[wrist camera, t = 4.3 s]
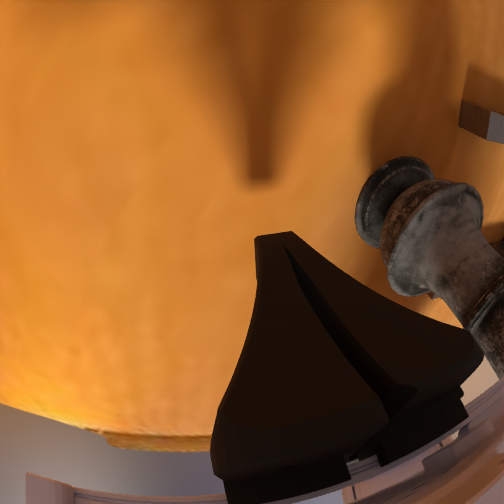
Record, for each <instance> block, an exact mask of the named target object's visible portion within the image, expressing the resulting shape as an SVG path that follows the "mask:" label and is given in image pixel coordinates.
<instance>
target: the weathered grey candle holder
mask: <svg viewBox="0 0 504 504" xmlns="http://www.w3.org/2000/svg"><path fill="white" fill-rule="evenodd" d="M355 222H356V229H357V231H358V233H359V235H360V237H361V238H362V239H363V240H364V241H365V242H366V243H367V244H368V245H370V246H372V247H375V248H381V252H382V256H383V261H384V264H385V266H386V269H387V279H388V281H389V284H390V287H391V288H392V289H393V290H394V291H395V292H396V293H397V294H399V295H403V296H407V297H410V296H419V295H422V294H425V293H427V292H430V291H432V292H434V293H435V294H436V295H438V296H439V297H440V298H441V299H443V300H444V301H445V303H446V304H447V305H448V307H449V308H450V309H451V311H452V312H453V313H454V315H455V316H456V317H457V319H458V320H459V322H460V323H461V324H462V326H463V329H465V330H468V331H470V332H471V334H472V335H473V337H474V338H475V340H476V341H477V343H478V344H479V346H480V347H481V349H482V350H483V352H484V355H485V357H486V358H487V360H488V361H489V363H490V365H491V366H492V368H493V369H494V371H495V373H496V374H497V376H498V378H499V380H500V379H501V378H502V377H504V259H503V258H502V257H501V256H500V255H499V254H498V253H497V252H496V251H495V250H494V249H493V248H492V247H491V246H490V245H489V243H488V242H487V240H486V239H485V237H484V236H483V234H482V232H481V227H482V222H483V203H482V200H481V197H480V194H479V193H478V192H477V190H476V189H475V188H474V187H473V186H471V185H468V184H466V183H454V182H451V181H448V180H441V179H435V177H434V174H433V172H432V171H431V169H430V167H429V166H428V165H427V164H426V163H424V162H423V161H422V160H420V159H417V158H414V157H399V158H396V159H393V160H390V161H389V162H387V163H386V164H384V165H383V166H381V167H380V168H378V170H377V171H376V172H375V173H374V174H373V175H372V176H371V177H370V178H369V179H368V181H367V183H366V184H365V186H364V188H363V189H362V191H361V193H360V196H359V199H358V202H357V204H356V212H355Z"/></svg>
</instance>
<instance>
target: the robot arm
mask: <svg viewBox="0 0 504 504" xmlns="http://www.w3.org/2000/svg"><path fill="white" fill-rule="evenodd" d="M254 243H255V262H256V279H257V290H256V298H255V303H254V309H253V313H252V318H251V322H250V326H249V329H248V333H247V336H246V340H245V343H244V346H243V349H242V352H241V355H240V358H239V360H238V363H237V366H236V368H235V371H234V374H233V376H232V379H231V381H230V383H229V385H228V388H227V390H226V392H225V394H224V396H223V398H222V401H221V403H220V405H219V407H218V410H217V416H216V420H215V424H214V428H213V433H212V438H211V446H210V456H211V462H212V467H213V472H214V475H216V476H217V477H219V478H220V479H222V480H223V483H224V488H225V493H226V494H218V495H206V496H187V497H154V496H134V495H122V494H114V493H106V492H99V491H92V490H86V489H81V488H76V487H72V486H71V485H68V484H65V483H62V482H59V481H55V480H51V479H48V478H44V477H41V476H37V475H34V474H30V473H26V504H291V503H295V502H299V501H303V500H307V499H311V498H314V497H318V496H321V495H324V494H327V493H331V492H334V491H337V490H340V489H342V495H343V502H344V504H504V377H502V378H501V379H500V380H499V381H498V382H496V383H495V384H494V385H493V386H492V387H490V388H489V389H488V390H486V391H485V392H484V393H482V394H481V395H480V396H478V397H477V398H475V399H474V400H473V401H472V402H470V403H468V404H467V405H465V406H464V405H463V403H462V402H461V400H460V398H461V397H463V395H464V392H463V390H462V389H461V387H460V385H461V384H462V383H463V382H464V381H465V380H466V379H467V378H468V377H469V376H470V375H471V374H472V373H473V372H474V371H475V370H476V369H477V368H478V366H479V365H480V364H481V362H482V361H483V358H484V352H483V350H482V349H481V347H480V346H479V344H478V343H477V341H476V340H475V338H474V337H473V335H472V334H471V332H470V331H468V330H465V329H462V328H459V327H455V326H452V325H449V324H446V323H442V322H440V321H437V320H434V319H432V318H429V317H427V316H424V315H421V314H419V313H417V312H414V311H412V310H410V309H408V308H406V307H403V306H401V305H399V304H397V303H395V302H393V301H391V300H389V299H387V298H386V297H384V296H382V295H380V294H378V293H377V292H375V291H373V290H371V289H370V288H368V287H366V286H365V285H363V284H361V283H360V282H358V281H357V280H355V279H354V278H352V277H351V276H349V275H348V274H346V273H345V272H344V271H342V270H341V269H339V268H338V267H337V266H335V265H334V264H332V263H331V262H330V261H328V260H327V259H326V258H325V257H323V256H322V255H321V254H320V253H318V252H317V251H316V250H314V249H313V248H312V247H311V246H310V245H308V244H307V243H306V242H305V241H303V240H302V239H301V238H300V237H299V236H297V235H296V234H295V233H294V232H292V231H288V232H281V233H275V234H268V235H261V236H257V237H256V238H255V239H254ZM459 429H460V430H459ZM458 430H459V433H458V437H457V438H456V439H455V440H453V438H452V437H451V436H450V435H452V434H453V433H455V432H456V431H458Z"/></svg>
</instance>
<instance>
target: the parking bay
mask: <svg viewBox="0 0 504 504" xmlns="http://www.w3.org/2000/svg"><path fill="white" fill-rule="evenodd" d="M459 127H461V128H463V129H465V130H467V131H469V132H471V133H473V134H475V135H477V136H479V137H481V138H483V139H485V140H488V141H493V142H497V143H502V144H504V115H503V114H501V113H498V112H495V111H493V110H490V109H487V108H484V107H482V106H479V105H476V104H473V103H470V102H467V101H463V100H462V105H461V114H460V121H459ZM489 245H490V246H491V247H492V248H493V249H494V250H495V251H496V252H497V253H498V254H499V255H500V256H501V257H502V258H503V259H504V238H503V240H502V241H499V242H496V243H493V244H489ZM427 294H428V295H429V297H430V298H431V299H435V298H438V297H439V296H438V295H436V294H435V293H434V292H432V291H430V292H427Z"/></svg>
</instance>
